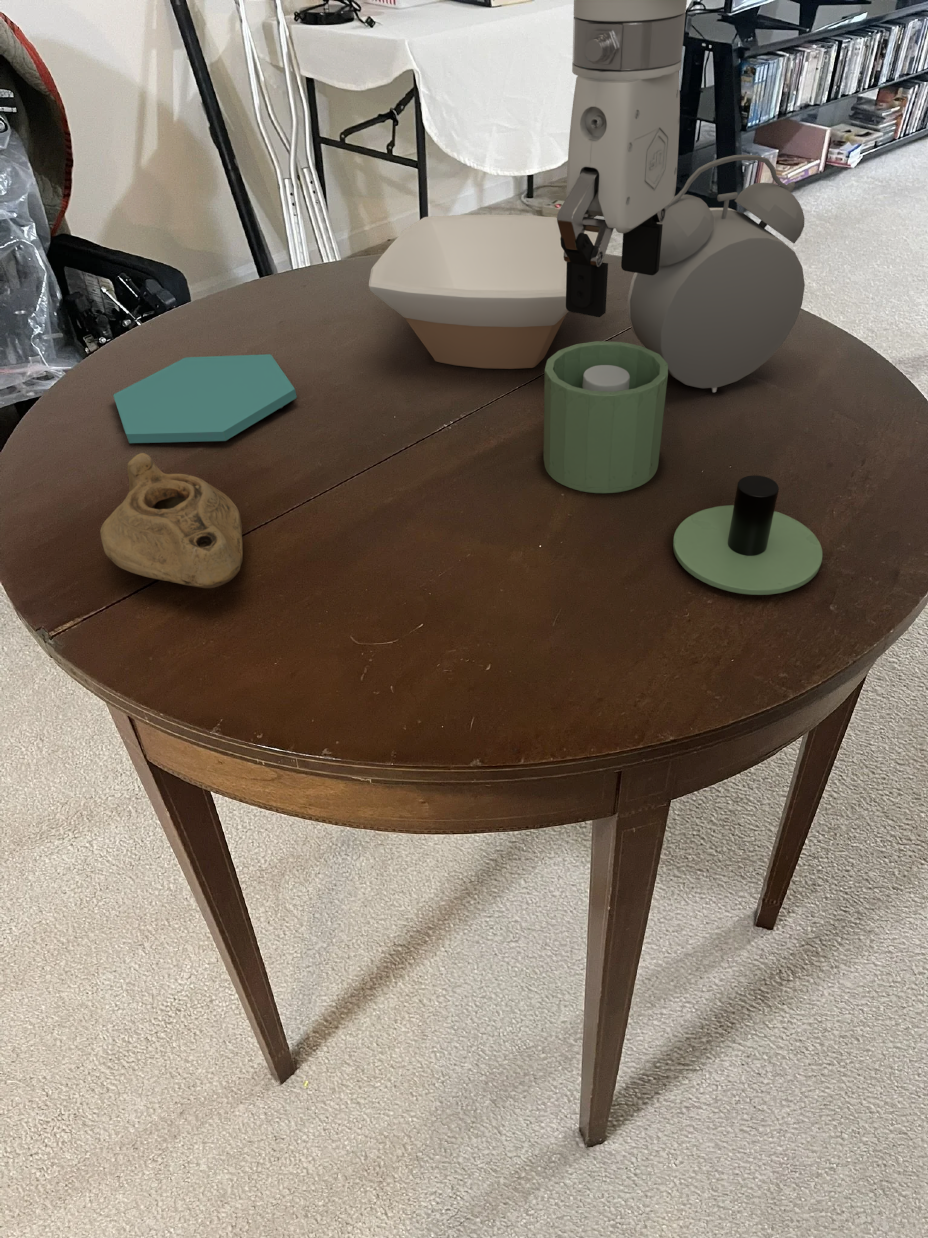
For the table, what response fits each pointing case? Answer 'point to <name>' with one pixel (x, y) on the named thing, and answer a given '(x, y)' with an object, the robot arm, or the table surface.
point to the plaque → (203, 399)
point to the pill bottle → (606, 378)
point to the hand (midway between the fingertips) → (613, 291)
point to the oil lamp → (174, 528)
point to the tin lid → (748, 544)
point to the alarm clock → (721, 282)
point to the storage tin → (603, 418)
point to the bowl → (478, 287)
